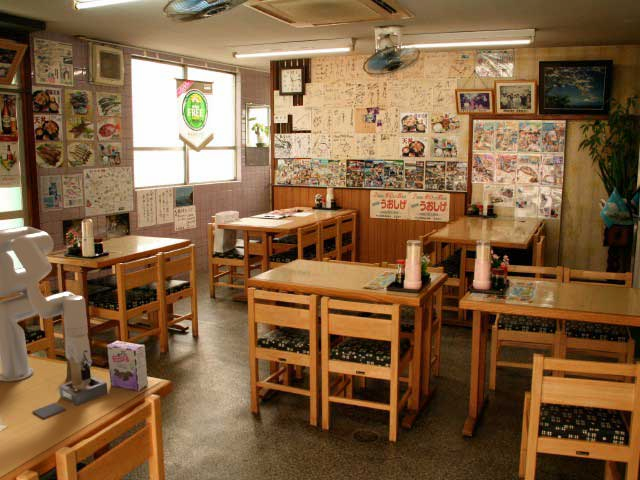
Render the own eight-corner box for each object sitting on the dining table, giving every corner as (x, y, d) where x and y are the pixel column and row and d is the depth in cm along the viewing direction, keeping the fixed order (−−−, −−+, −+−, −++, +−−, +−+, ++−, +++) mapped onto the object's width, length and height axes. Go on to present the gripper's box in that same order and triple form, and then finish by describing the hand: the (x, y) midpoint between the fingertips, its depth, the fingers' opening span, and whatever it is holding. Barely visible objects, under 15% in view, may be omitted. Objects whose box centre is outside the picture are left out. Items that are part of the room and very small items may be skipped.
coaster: (32, 412, 209) (32, 411, 208) (55, 404, 215) (54, 402, 214) (43, 419, 203) (43, 417, 203) (66, 410, 209) (66, 408, 209)
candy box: (110, 386, 228) (105, 344, 225) (121, 380, 234) (117, 339, 231) (138, 391, 223) (134, 349, 219) (149, 385, 228) (145, 344, 225)
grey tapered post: (77, 379, 235) (74, 353, 233) (63, 378, 236) (60, 352, 234) (86, 373, 241) (83, 347, 239) (72, 372, 242) (69, 346, 240)
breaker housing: (59, 397, 220) (58, 385, 219) (90, 385, 229) (89, 374, 228) (76, 406, 212) (75, 394, 211) (107, 394, 221) (106, 382, 221)
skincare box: (79, 381, 224) (76, 350, 221) (91, 382, 223) (88, 350, 221) (72, 389, 217) (68, 357, 215) (83, 389, 217) (80, 357, 215)
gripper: (54, 327, 219) (59, 373, 222) (79, 338, 208) (83, 386, 211) (74, 322, 224) (78, 367, 228) (98, 332, 213) (103, 379, 217)
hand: (80, 376), depth 220 cm, fingers closed on skincare box, 7 cm apart
